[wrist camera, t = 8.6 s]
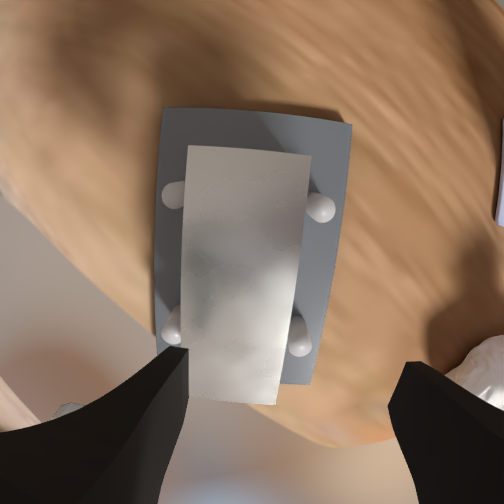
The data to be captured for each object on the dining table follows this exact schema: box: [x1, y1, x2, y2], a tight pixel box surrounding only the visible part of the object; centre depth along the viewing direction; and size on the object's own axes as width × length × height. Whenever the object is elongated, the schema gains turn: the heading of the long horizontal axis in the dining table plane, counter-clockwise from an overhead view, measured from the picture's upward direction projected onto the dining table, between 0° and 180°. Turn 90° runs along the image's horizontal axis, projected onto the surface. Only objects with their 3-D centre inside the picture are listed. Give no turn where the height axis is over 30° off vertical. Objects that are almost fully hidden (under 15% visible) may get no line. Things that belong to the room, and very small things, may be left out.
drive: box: [181, 145, 312, 405], centre depth 14 cm, size 4×10×6 cm, turn 175°
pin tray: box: [154, 107, 352, 385], centre depth 16 cm, size 10×16×4 cm, turn 175°
